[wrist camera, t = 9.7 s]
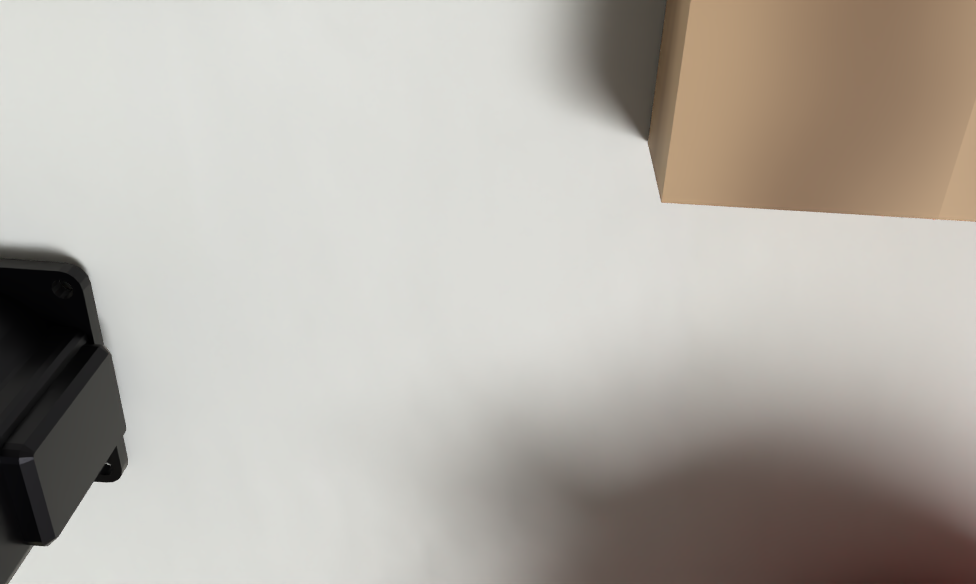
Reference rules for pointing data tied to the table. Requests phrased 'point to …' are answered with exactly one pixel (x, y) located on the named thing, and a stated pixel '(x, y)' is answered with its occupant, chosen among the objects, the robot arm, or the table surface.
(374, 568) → the table surface
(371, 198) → the table surface
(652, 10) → the table surface
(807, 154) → the board
